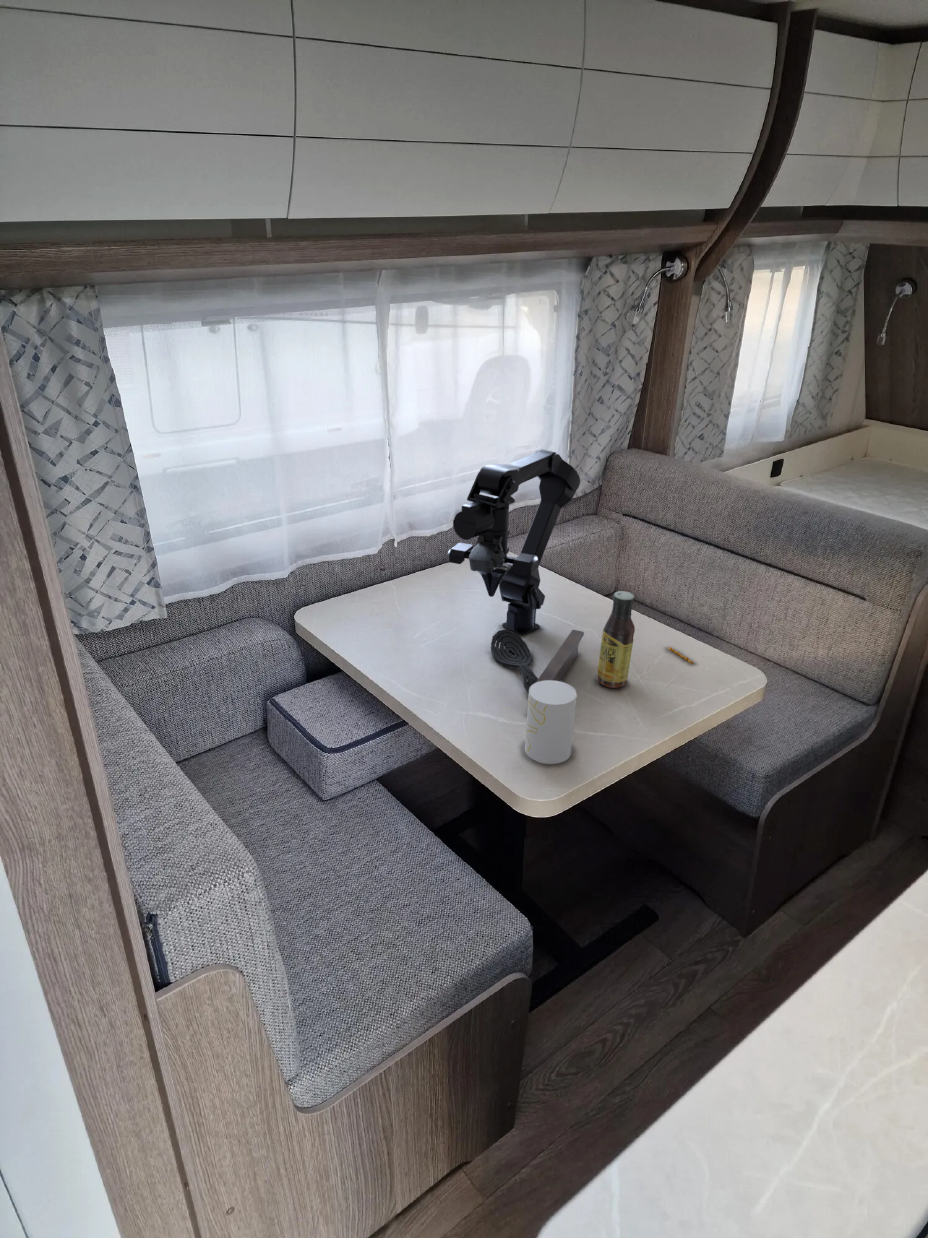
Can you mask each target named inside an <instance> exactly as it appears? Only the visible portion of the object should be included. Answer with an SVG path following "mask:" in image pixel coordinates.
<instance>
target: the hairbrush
mask: <svg viewBox="0 0 928 1238" xmlns="http://www.w3.org/2000/svg"><path fill="white" fill-rule="evenodd" d="M502 628H503V629H501V627H500V628H496V630H498V631H497V632H496V631H494V633H493V635H492V638H491V643H490V653H491V655H492V657H493V659H494V662H496V663H497V664H499V665H500V666H502V667H506V668H510V669H517V670H519V672H520V675H521V677H522V684H523V687H524V689H525V691H526V693H527V695H529V688H530V687H531V686H532V685H533V684H534V683H536V681H537V680H538V678H539V677H537V675H536V674H535V673H534V672H533V670H532V669H531V667H530V665H531V664H532V659H533V656H532V652H531V649H530V647H529V646H528V644H527V642H525V640H524V639H523V638H522V637H521V636H520V634H518V633H516V632H513V631H514V630H513V631H511V630H509V629H507V628H505V627H503V626H502ZM510 629H511V628H510Z"/></svg>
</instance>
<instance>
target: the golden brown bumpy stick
mask: <svg viewBox="0 0 928 1238" xmlns="http://www.w3.org/2000/svg"><path fill="white" fill-rule="evenodd" d="M668 650H669V651H671V652H672V653H674V654H675V655H677V656H678V657H680V658H682V659H683V660H685V661H686V662H688V663H690V664H691V665H693V663H694V661H693V660H690V658H689V657H688V656H686V657H685V656H684V655H682V654H681V653H680V652H679V651H677V650H675V649H673V648H672V647H669V646H668Z"/></svg>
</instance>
